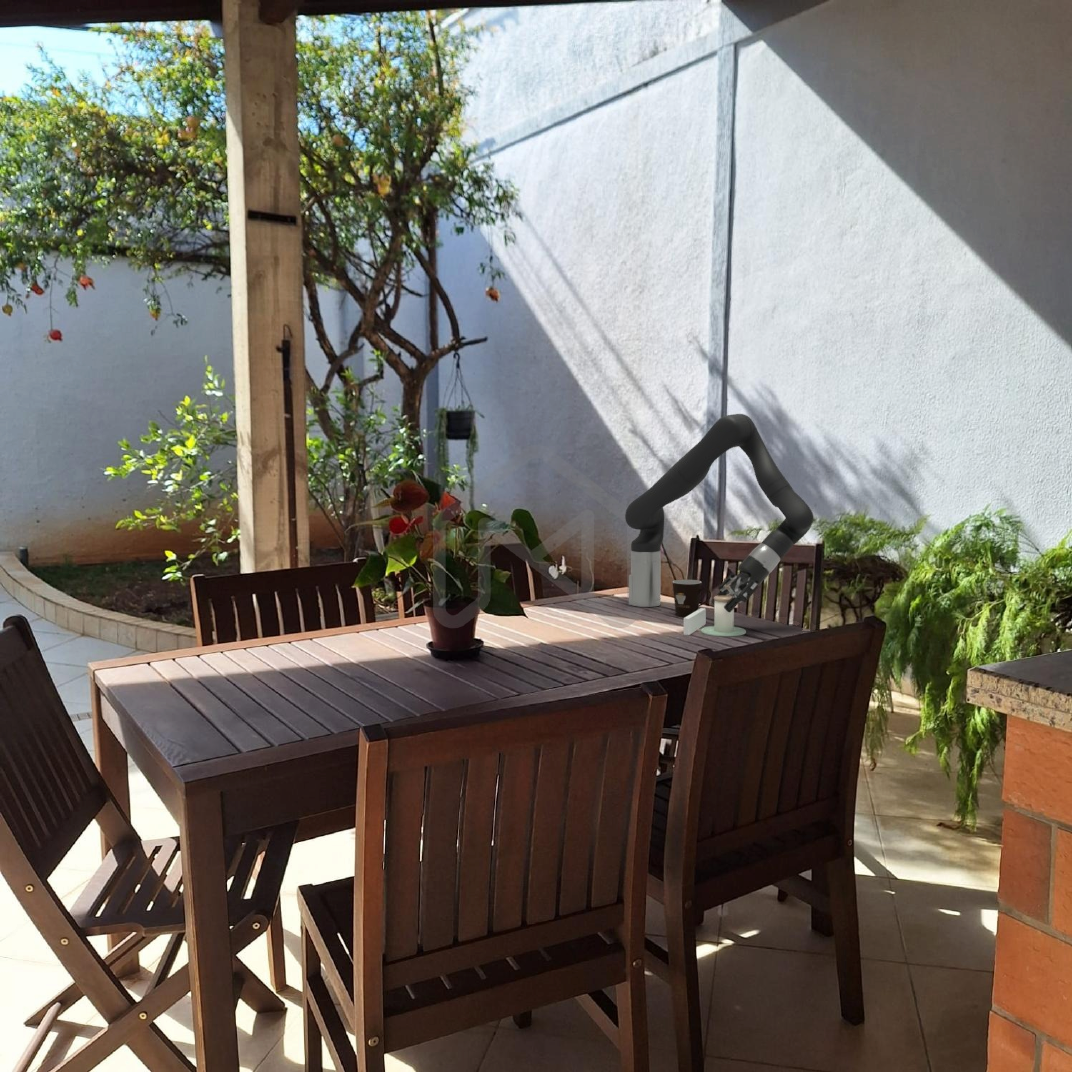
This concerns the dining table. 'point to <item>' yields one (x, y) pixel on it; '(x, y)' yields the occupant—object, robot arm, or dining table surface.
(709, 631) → the sage pad
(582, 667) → the dining table surface
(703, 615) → the grey wall
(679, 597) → the coffee mug
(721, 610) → the cream jar
